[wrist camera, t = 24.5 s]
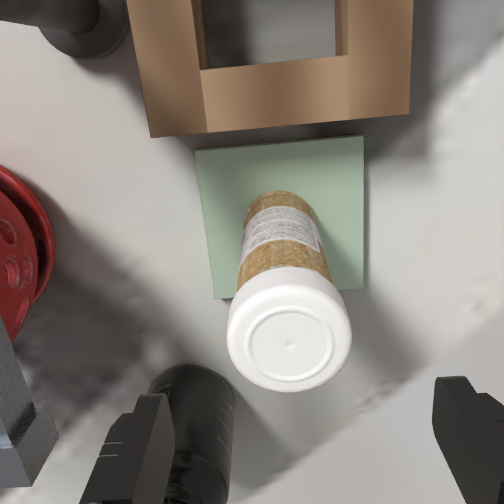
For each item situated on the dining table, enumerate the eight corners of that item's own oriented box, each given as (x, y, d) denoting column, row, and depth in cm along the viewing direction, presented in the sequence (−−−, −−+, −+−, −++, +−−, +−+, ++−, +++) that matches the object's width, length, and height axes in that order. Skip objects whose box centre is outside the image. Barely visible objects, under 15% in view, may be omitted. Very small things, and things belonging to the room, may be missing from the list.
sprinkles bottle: (302, 263, 29) (329, 410, 17) (234, 245, 29) (211, 382, 16) (324, 198, 27) (374, 308, 15) (253, 178, 27) (243, 274, 15)
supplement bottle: (160, 435, 36) (114, 597, 25) (139, 367, 34) (77, 514, 23) (243, 426, 36) (233, 588, 25) (228, 356, 33) (209, 502, 22)
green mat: (216, 293, 31) (215, 299, 30) (195, 149, 27) (194, 151, 26) (360, 283, 30) (363, 288, 30) (360, 134, 27) (363, 136, 26)
